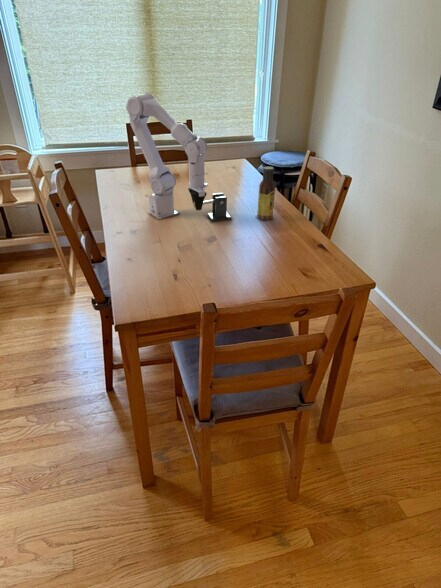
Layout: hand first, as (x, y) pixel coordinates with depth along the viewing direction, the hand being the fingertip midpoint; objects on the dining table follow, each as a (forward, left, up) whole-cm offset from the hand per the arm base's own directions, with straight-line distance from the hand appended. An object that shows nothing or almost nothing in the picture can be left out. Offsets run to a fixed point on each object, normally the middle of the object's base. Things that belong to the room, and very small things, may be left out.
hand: (197, 208), depth 157 cm
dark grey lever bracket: (+8, -3, -5) cm, 10 cm away
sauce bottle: (+23, -13, -5) cm, 27 cm away
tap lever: (+4, -1, 0) cm, 4 cm away
